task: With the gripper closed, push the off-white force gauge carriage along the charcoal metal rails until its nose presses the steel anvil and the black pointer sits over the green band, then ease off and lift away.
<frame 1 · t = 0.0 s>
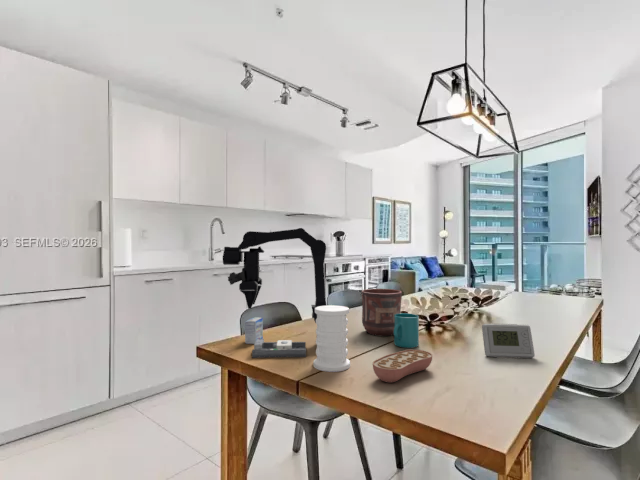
hand: (251, 306, 140), 15 cm above the table, tool pointing down, fingers open, 9 cm apart
gauge stand: (280, 352, 131), on the table
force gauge: (282, 346, 130), point 3 cm above the table, slide at 0.0 cm
digital thermostat: (507, 356, 128), on the table
cup: (404, 346, 140), on the table
medicine box: (254, 341, 146), on the table
decorative container: (331, 366, 117), on the table
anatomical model: (402, 375, 109), on the table
pottery: (381, 332, 161), on the table
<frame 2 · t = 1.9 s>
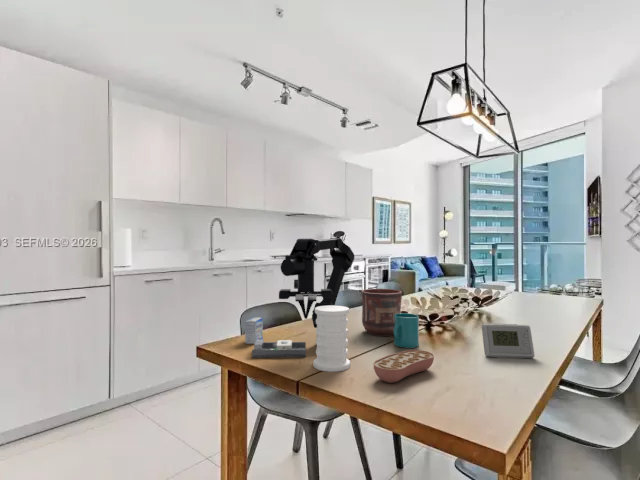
hand: (305, 318, 131), 12 cm above the table, tool pointing down, fingers closed
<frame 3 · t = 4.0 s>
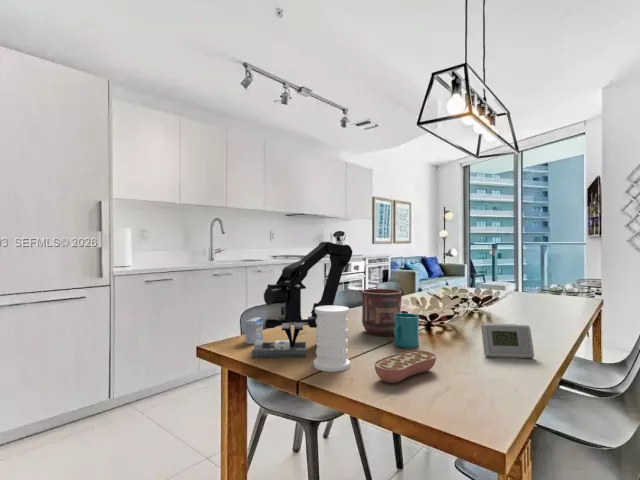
hand: (292, 346, 131), 2 cm above the table, tool pointing down, fingers closed
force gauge: (280, 346, 130), point 3 cm above the table, slide at 0.7 cm, touching gripper
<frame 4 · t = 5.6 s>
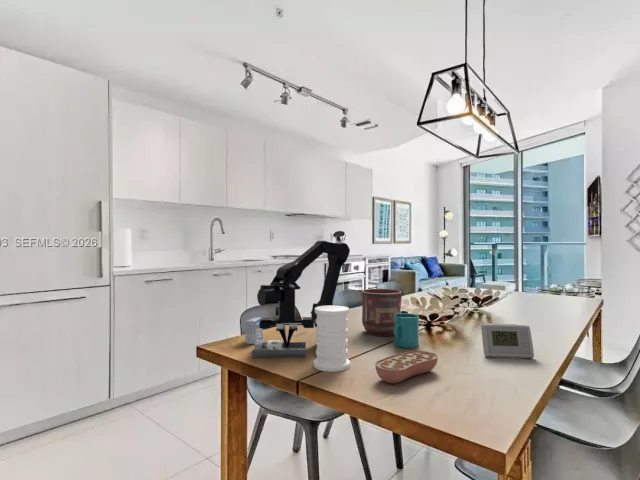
hand: (287, 347, 131), 2 cm above the table, tool pointing down, fingers closed
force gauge: (272, 346, 130), point 3 cm above the table, slide at 3.4 cm
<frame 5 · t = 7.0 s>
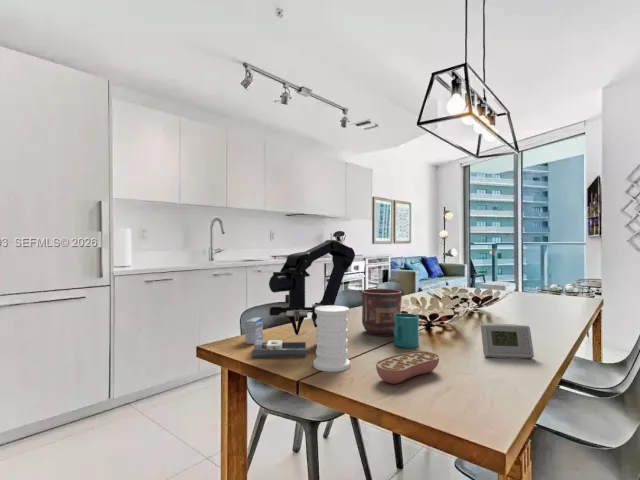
hand: (296, 334, 131), 6 cm above the table, tool pointing down, fingers closed
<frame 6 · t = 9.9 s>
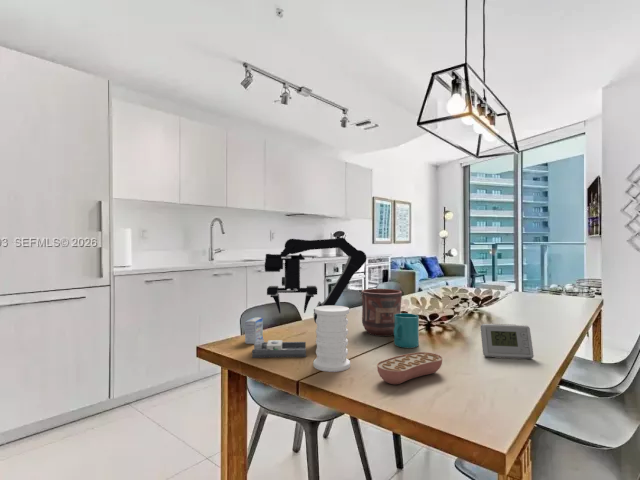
hand: (292, 313, 141), 12 cm above the table, tool pointing down, fingers open, 9 cm apart
at the end: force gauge slide at 3.4 cm; medicine box moved 0.3 cm from its start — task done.
